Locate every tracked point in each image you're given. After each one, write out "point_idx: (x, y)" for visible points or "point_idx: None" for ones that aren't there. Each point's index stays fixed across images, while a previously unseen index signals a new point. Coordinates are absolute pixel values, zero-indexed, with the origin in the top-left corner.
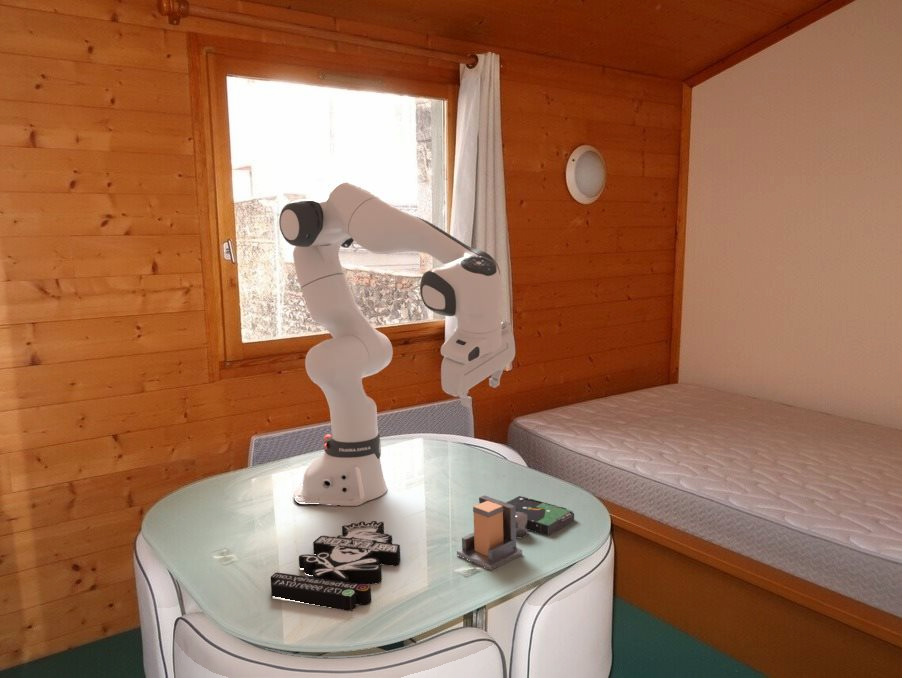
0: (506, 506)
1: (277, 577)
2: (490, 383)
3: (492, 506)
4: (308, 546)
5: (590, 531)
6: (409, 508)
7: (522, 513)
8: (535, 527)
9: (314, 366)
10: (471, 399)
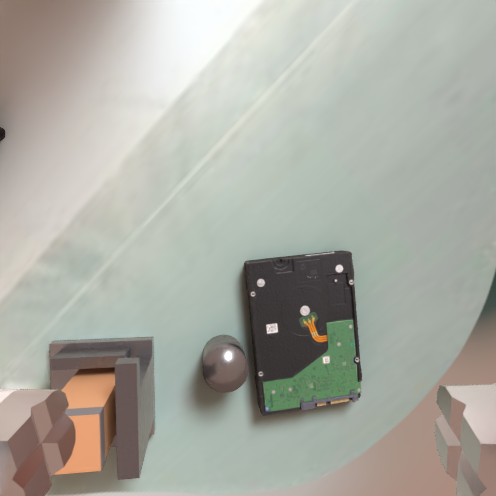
0: (120, 463)
1: None
2: (451, 417)
3: (77, 454)
4: None
5: (330, 449)
6: (150, 66)
7: (243, 369)
8: (256, 377)
9: None
10: (43, 492)
